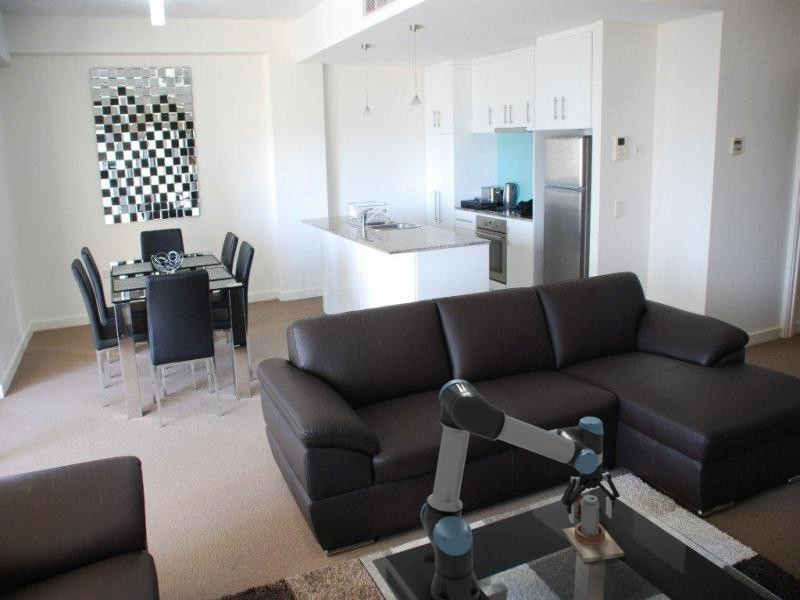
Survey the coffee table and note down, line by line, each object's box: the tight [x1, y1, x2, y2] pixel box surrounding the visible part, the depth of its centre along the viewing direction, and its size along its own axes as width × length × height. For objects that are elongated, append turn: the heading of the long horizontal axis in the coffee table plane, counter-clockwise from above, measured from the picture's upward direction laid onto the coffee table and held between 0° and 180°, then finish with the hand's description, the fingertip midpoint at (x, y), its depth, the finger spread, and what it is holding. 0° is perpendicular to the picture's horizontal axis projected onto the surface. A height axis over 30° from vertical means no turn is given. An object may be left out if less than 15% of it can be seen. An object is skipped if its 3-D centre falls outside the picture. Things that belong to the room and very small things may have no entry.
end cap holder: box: [562, 521, 625, 563], centre depth 236 cm, size 14×18×4 cm
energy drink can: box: [580, 494, 600, 536], centre depth 237 cm, size 6×6×15 cm
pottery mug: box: [574, 494, 602, 519], centre depth 255 cm, size 12×10×8 cm
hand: (590, 518), depth 237 cm, fingers open, 13 cm apart
